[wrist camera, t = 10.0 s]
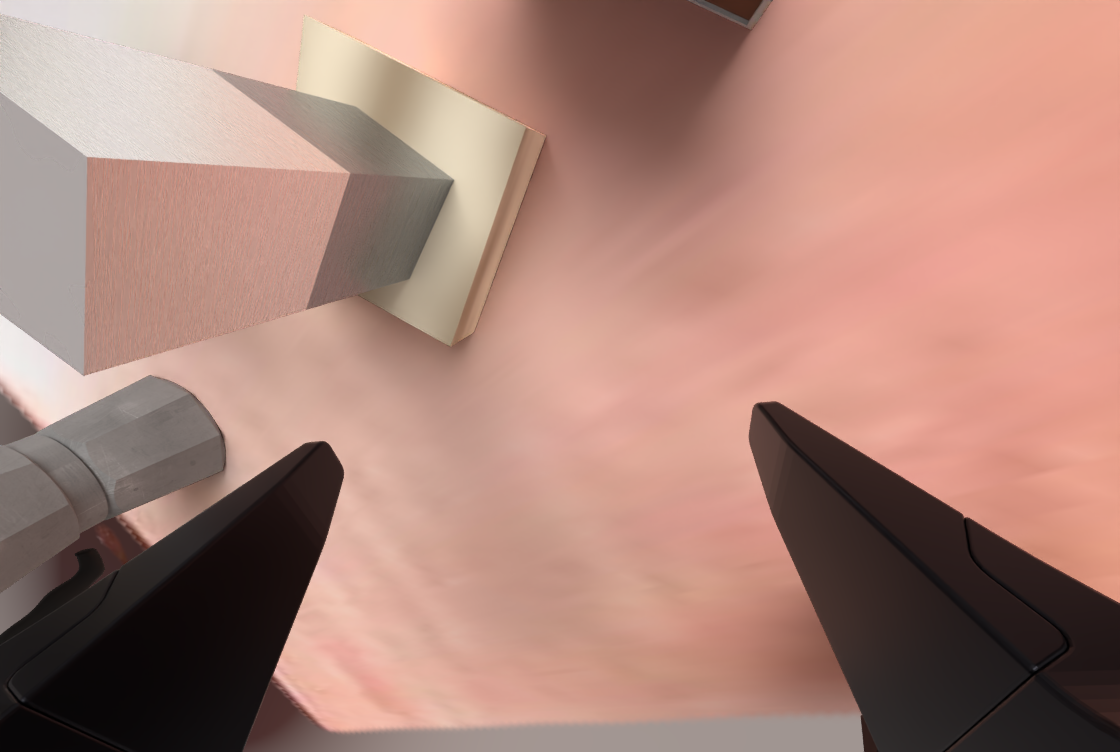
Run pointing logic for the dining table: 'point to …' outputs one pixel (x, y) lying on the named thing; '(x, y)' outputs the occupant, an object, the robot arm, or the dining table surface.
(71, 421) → the coffeepot
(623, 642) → the dining table surface
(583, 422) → the dining table surface
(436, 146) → the stand
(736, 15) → the food container
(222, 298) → the block
